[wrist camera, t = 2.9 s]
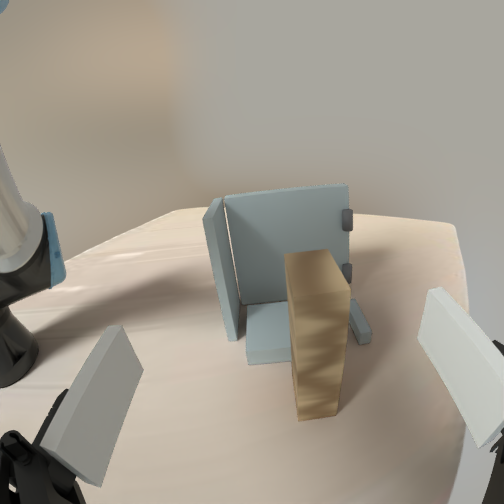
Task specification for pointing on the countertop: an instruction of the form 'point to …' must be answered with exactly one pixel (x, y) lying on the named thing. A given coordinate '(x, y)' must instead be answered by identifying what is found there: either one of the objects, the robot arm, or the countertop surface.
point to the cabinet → (275, 258)
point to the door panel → (317, 330)
